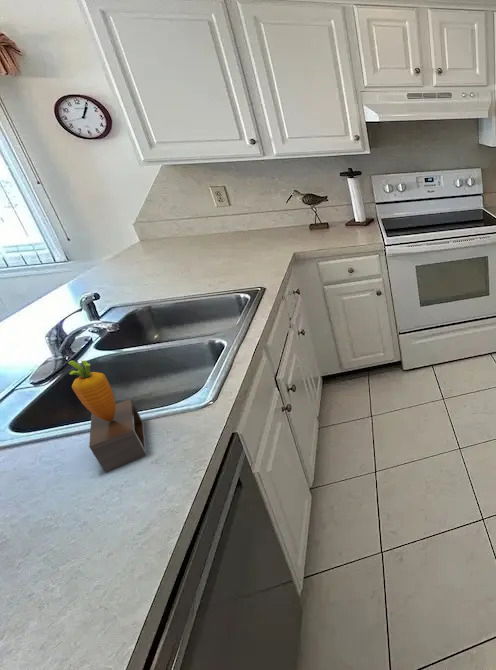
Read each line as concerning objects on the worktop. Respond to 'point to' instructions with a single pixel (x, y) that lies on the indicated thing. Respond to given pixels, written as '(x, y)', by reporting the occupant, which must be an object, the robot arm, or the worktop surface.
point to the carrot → (93, 391)
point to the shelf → (118, 437)
